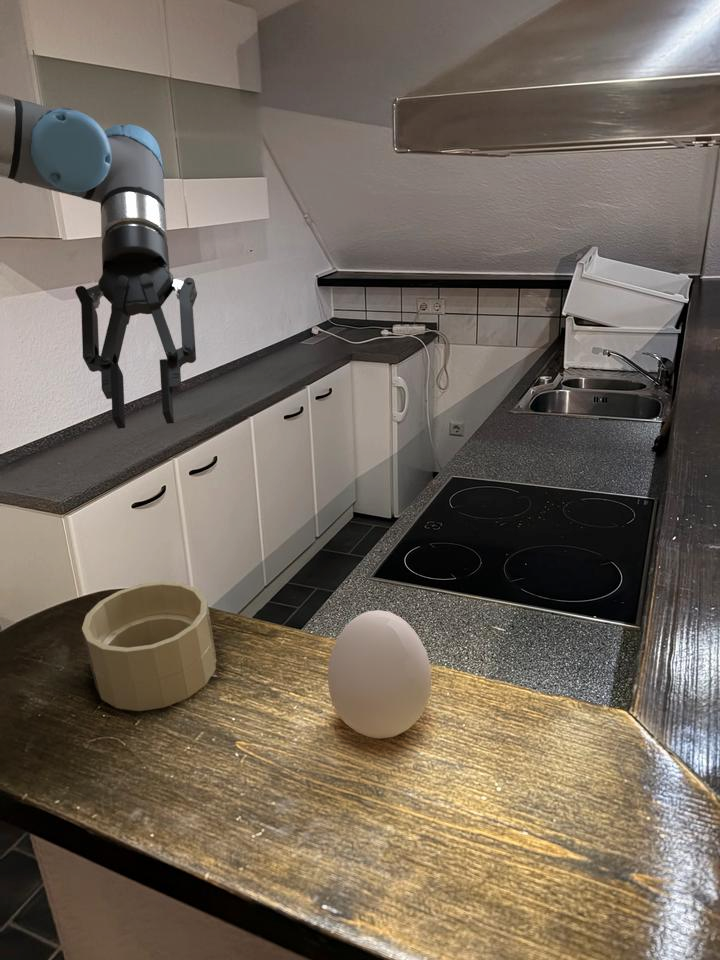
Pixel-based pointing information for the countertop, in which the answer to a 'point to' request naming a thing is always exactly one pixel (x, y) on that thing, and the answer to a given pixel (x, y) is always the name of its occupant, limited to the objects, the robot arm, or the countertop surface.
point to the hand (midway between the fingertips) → (143, 420)
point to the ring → (150, 645)
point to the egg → (379, 675)
